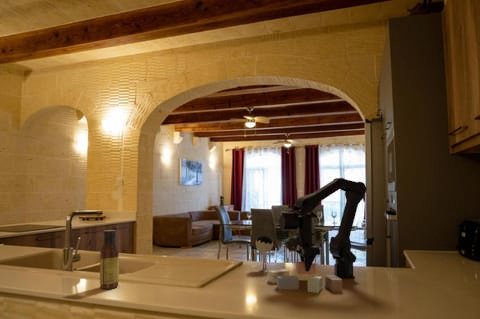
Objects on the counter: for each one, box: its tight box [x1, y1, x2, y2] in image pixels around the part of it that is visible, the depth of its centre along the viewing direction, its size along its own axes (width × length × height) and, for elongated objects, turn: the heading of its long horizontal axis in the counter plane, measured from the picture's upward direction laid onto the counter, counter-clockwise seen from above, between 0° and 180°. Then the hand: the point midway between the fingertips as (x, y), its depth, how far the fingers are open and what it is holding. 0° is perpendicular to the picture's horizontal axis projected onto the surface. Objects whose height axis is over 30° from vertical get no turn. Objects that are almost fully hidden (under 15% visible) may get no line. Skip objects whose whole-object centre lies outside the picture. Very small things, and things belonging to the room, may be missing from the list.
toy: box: [254, 234, 275, 270], centre depth 154 cm, size 9×7×15 cm
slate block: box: [276, 275, 300, 291], centre depth 123 cm, size 7×4×4 cm, turn 96°
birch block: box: [268, 268, 290, 284], centre depth 133 cm, size 7×4×4 cm, turn 113°
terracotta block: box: [295, 261, 317, 275], centre depth 135 cm, size 7×4×4 cm, turn 91°
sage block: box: [307, 275, 323, 294], centre depth 121 cm, size 7×4×4 cm, turn 156°
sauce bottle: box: [99, 229, 120, 290], centre depth 123 cm, size 7×6×20 cm
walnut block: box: [324, 274, 343, 293], centre depth 122 cm, size 7×4×4 cm, turn 7°
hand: (305, 270), depth 135 cm, fingers closed on terracotta block, 4 cm apart
